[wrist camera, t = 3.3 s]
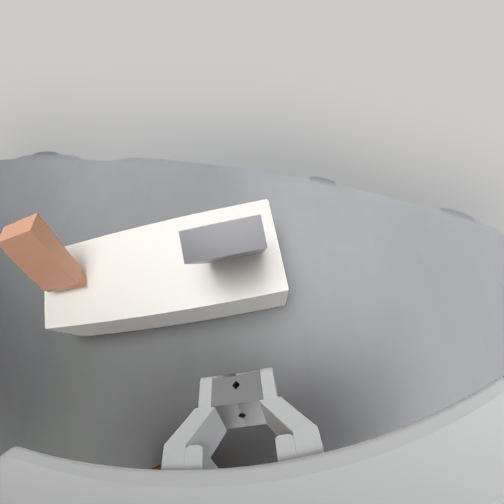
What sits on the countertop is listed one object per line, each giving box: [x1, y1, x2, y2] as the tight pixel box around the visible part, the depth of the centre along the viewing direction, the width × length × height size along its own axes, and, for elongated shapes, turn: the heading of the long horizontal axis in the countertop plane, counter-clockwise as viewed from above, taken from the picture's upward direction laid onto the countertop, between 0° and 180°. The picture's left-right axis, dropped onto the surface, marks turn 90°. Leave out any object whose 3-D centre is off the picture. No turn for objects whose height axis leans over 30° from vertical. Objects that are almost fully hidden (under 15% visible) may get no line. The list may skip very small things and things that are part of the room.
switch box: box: [45, 199, 289, 336], centre depth 31 cm, size 9×26×8 cm, turn 100°
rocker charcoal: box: [179, 214, 267, 264], centre depth 22 cm, size 2×5×9 cm, turn 100°
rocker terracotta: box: [0, 213, 86, 292], centre depth 23 cm, size 2×5×9 cm, turn 100°
